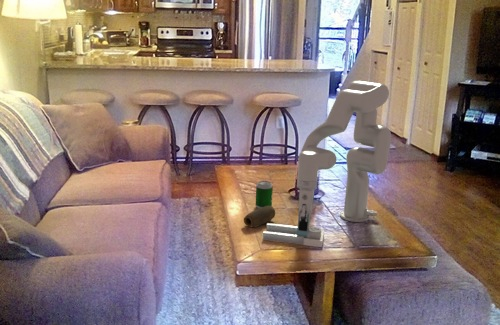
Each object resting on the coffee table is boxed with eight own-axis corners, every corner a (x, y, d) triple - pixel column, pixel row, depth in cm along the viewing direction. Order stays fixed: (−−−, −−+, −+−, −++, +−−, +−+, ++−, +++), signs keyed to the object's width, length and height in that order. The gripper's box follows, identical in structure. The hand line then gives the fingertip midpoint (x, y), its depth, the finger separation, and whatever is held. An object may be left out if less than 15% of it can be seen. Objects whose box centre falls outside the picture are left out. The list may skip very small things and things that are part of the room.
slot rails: (306, 234, 204) (306, 227, 203) (303, 244, 195) (304, 237, 194) (267, 229, 207) (267, 223, 206) (262, 239, 198) (263, 232, 197)
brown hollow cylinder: (262, 216, 222) (263, 202, 220) (276, 220, 218) (276, 206, 216) (241, 226, 210) (242, 211, 208) (255, 231, 206) (255, 215, 204)
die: (319, 244, 195) (320, 232, 194) (306, 242, 196) (307, 231, 195) (320, 239, 200) (321, 227, 198) (307, 237, 201) (308, 226, 199)
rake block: (308, 235, 202) (310, 207, 199) (306, 241, 196) (309, 212, 193) (298, 234, 202) (300, 205, 199) (296, 239, 197) (299, 211, 194)
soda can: (270, 211, 228) (271, 186, 225) (253, 209, 229) (254, 184, 226) (272, 205, 235) (274, 181, 232) (257, 204, 236) (258, 179, 233)
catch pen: (323, 235, 203) (324, 230, 203) (321, 247, 193) (322, 241, 192) (306, 233, 205) (306, 228, 204) (303, 245, 194) (303, 239, 194)
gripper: (314, 191, 184) (311, 237, 189) (318, 178, 201) (315, 220, 206) (294, 189, 186) (291, 234, 191) (299, 176, 202) (296, 218, 207)
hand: (303, 226), depth 198 cm, fingers closed on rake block, 6 cm apart
